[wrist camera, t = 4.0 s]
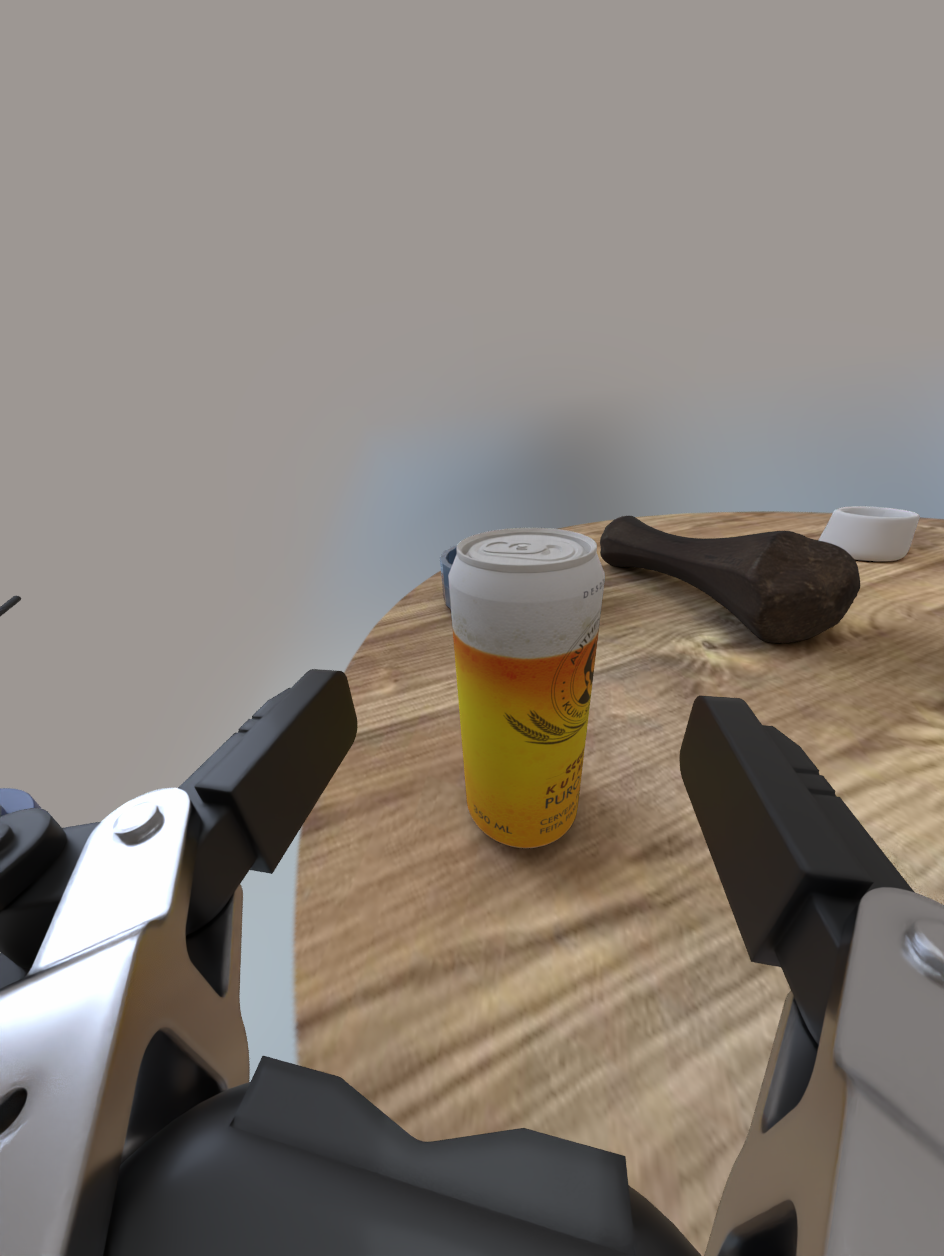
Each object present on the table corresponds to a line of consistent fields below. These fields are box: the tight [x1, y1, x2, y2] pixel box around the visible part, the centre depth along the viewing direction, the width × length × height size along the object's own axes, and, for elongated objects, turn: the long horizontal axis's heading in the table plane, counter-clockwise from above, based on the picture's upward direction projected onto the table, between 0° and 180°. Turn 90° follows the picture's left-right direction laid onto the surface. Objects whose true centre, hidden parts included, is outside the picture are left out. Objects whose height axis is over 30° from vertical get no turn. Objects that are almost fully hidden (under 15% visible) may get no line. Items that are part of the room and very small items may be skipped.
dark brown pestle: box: [600, 516, 860, 643], centre depth 44 cm, size 11×10×28 cm
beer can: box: [448, 528, 605, 848], centre depth 18 cm, size 6×6×15 cm
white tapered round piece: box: [819, 506, 920, 561], centre depth 55 cm, size 12×10×6 cm
